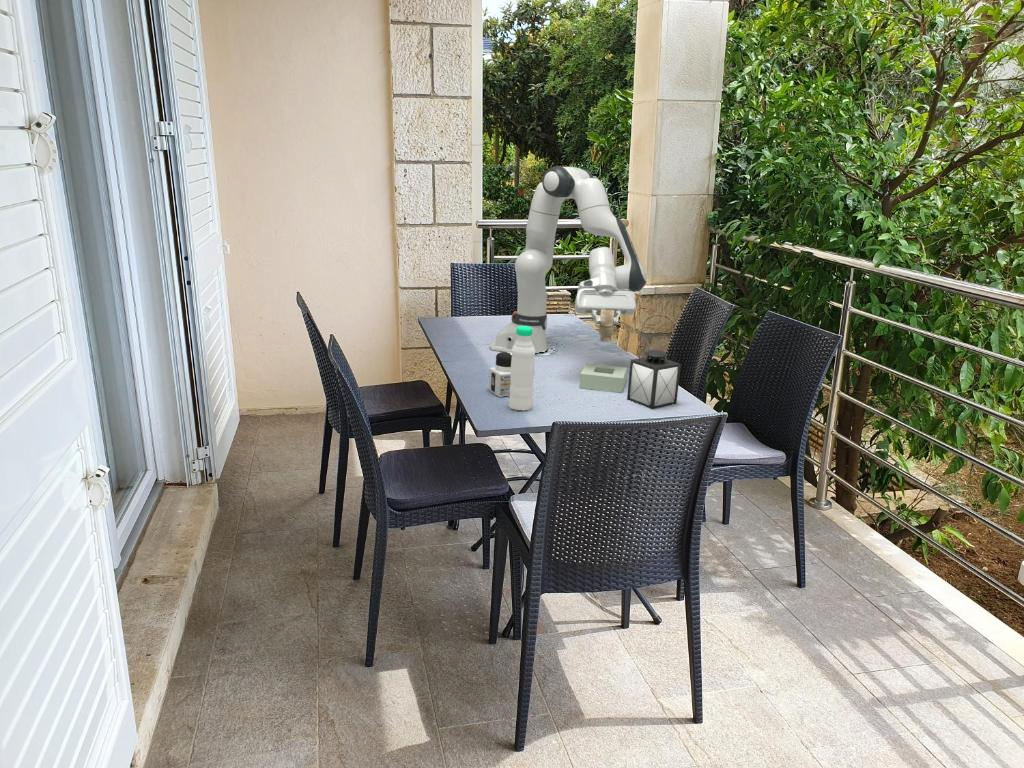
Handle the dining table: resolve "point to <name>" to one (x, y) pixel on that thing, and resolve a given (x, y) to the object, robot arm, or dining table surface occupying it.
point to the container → (501, 375)
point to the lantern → (653, 379)
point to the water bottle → (522, 370)
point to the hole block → (603, 377)
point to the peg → (606, 324)
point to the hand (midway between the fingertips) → (606, 323)
